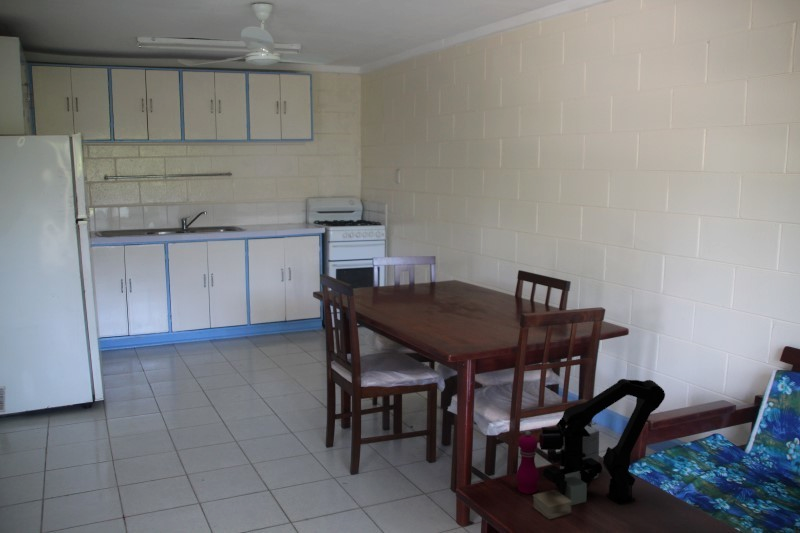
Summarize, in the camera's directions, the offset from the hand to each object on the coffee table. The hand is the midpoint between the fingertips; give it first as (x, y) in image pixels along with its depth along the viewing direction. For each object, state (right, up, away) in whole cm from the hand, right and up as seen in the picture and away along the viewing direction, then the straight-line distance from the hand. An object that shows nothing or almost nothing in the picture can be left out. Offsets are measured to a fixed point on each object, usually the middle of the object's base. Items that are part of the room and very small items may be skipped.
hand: (572, 495), depth 211 cm
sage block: (0, -1, 0) cm, 1 cm away
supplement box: (+6, +1, +16) cm, 17 cm away
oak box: (-8, -2, -6) cm, 10 cm away
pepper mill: (-13, -1, +7) cm, 15 cm away
